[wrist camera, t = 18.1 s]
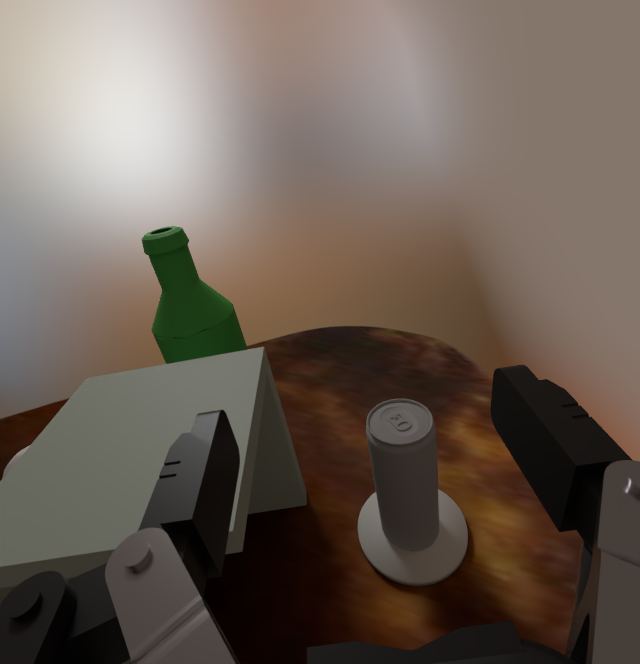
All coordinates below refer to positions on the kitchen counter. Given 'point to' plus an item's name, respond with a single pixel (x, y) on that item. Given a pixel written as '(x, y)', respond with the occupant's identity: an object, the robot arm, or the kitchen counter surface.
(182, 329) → the bottle
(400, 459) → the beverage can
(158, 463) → the shelf housing
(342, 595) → the kitchen counter surface
